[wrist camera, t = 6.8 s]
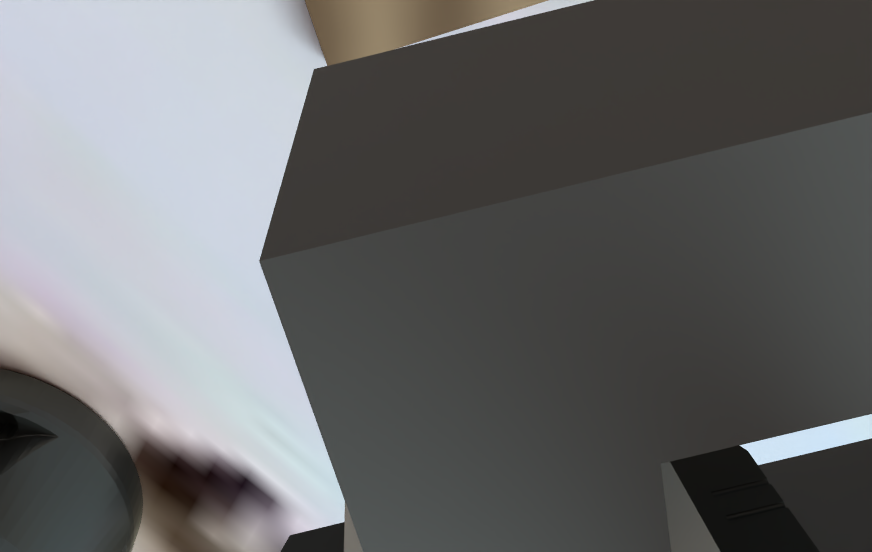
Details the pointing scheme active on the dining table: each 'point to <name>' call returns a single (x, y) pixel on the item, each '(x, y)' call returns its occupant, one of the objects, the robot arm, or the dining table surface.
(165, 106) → the dining table surface
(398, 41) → the hook board
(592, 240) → the grey storage bin
